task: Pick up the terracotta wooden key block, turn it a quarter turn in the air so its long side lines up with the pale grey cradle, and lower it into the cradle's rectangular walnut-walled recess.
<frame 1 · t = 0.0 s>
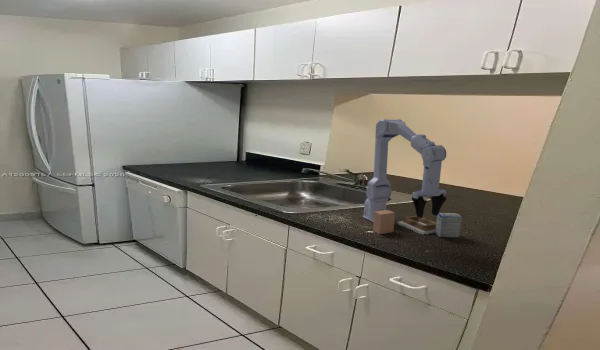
hand: (427, 215, 128), 10 cm above the worktop, tool pointing down, fingers open, 7 cm apart
medicine box: (446, 236, 138), on the worktop
key block: (383, 231, 140), on the worktop
cradle: (420, 227, 146), on the worktop
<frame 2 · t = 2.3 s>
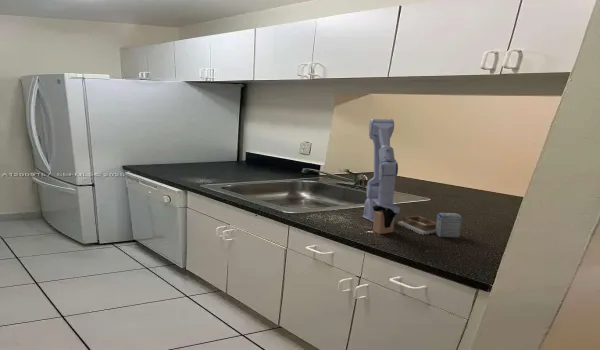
hand: (383, 225, 139), 2 cm above the worktop, tool pointing down, fingers closed on key block, 4 cm apart
key block: (383, 231, 140), on the worktop, touching gripper
everything else where it was.
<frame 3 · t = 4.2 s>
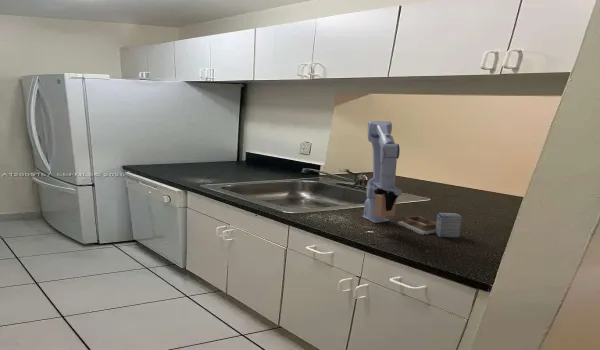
hand: (384, 208, 138), 9 cm above the worktop, tool pointing down, fingers closed on key block, 4 cm apart
key block: (384, 214, 139), point 7 cm above the worktop, touching gripper
everything else where it was.
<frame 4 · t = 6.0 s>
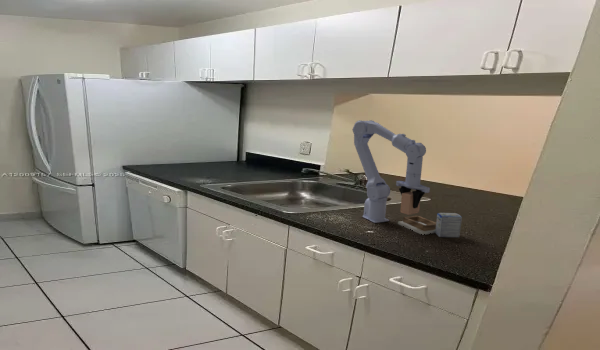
hand: (410, 206, 142), 9 cm above the worktop, tool pointing down, fingers closed on key block, 4 cm apart
key block: (409, 212, 143), point 7 cm above the worktop, touching gripper
everything else where it was.
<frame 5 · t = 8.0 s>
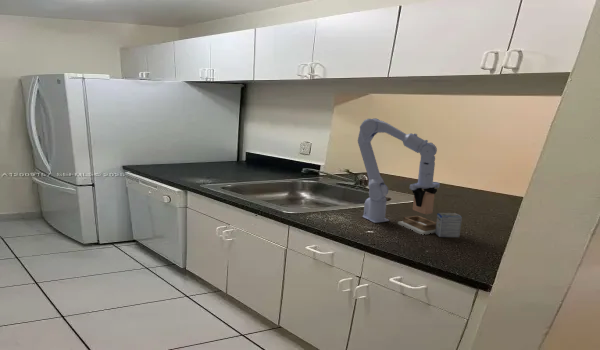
hand: (422, 205, 144), 9 cm above the worktop, tool pointing down, fingers closed on key block, 4 cm apart
key block: (422, 211, 145), point 7 cm above the worktop, touching gripper
everything else where it was.
when the fingers open (5 cm above the worktop, at t = 9.6 s): key block drops 1 cm, resting on cradle.
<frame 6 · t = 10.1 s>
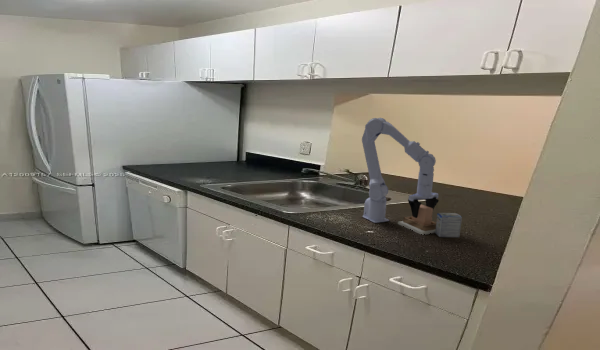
hand: (421, 216, 145), 5 cm above the worktop, tool pointing down, fingers open, 7 cm apart
key block: (420, 225, 146), point 1 cm above the worktop, touching cradle
everything else where it was.
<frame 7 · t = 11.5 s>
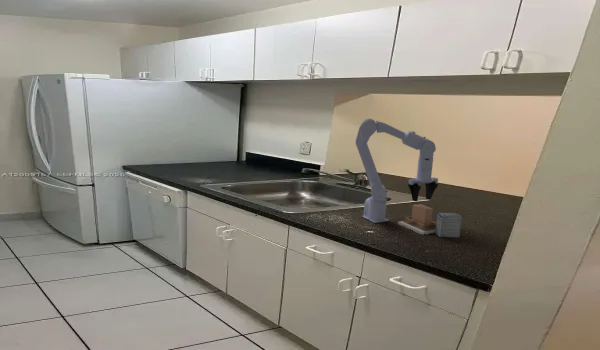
hand: (421, 200, 149), 10 cm above the worktop, tool pointing down, fingers open, 7 cm apart
nothing on the worktop moved.
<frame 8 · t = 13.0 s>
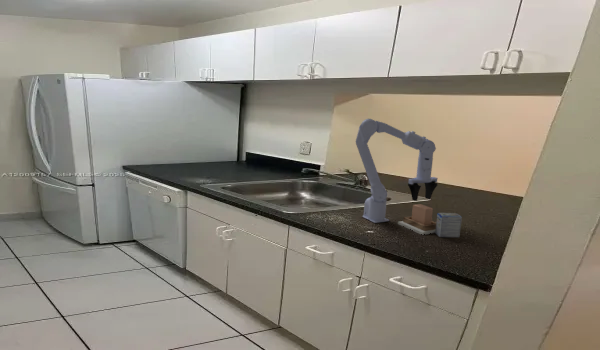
hand: (421, 199, 150), 10 cm above the worktop, tool pointing down, fingers open, 7 cm apart
nothing on the worktop moved.
at the end: key block 0.1 cm off-centre on the cradle, point 1.0 cm above the cradle's base; key block tilted 0°; the gripper is holding nothing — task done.
